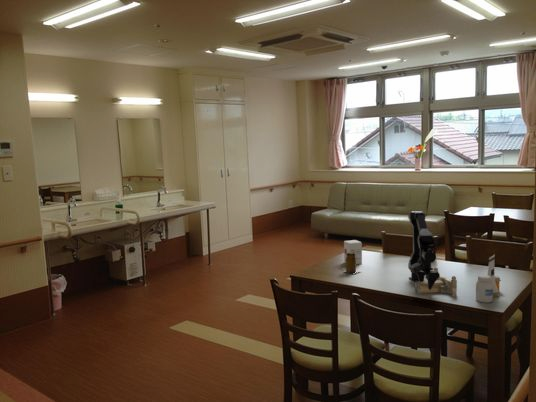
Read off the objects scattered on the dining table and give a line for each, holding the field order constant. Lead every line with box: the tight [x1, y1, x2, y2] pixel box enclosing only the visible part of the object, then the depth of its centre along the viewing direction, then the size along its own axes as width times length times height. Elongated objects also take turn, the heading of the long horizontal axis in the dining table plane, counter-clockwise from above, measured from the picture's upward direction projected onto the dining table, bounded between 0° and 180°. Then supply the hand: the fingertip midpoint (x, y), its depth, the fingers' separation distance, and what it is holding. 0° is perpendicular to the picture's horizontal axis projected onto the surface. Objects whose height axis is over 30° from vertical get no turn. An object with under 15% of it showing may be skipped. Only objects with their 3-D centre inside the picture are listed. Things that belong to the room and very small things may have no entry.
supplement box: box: [343, 239, 363, 265], centre depth 309 cm, size 9×9×15 cm
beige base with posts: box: [433, 267, 458, 297], centre depth 247 cm, size 20×5×10 cm, turn 9°
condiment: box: [345, 252, 357, 275], centre depth 287 cm, size 7×8×12 cm
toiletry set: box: [475, 253, 502, 304], centre depth 234 cm, size 25×8×20 cm, turn 139°
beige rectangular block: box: [414, 280, 444, 294], centre depth 246 cm, size 4×14×5 cm, turn 99°
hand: (425, 287), depth 245 cm, fingers open, 9 cm apart
